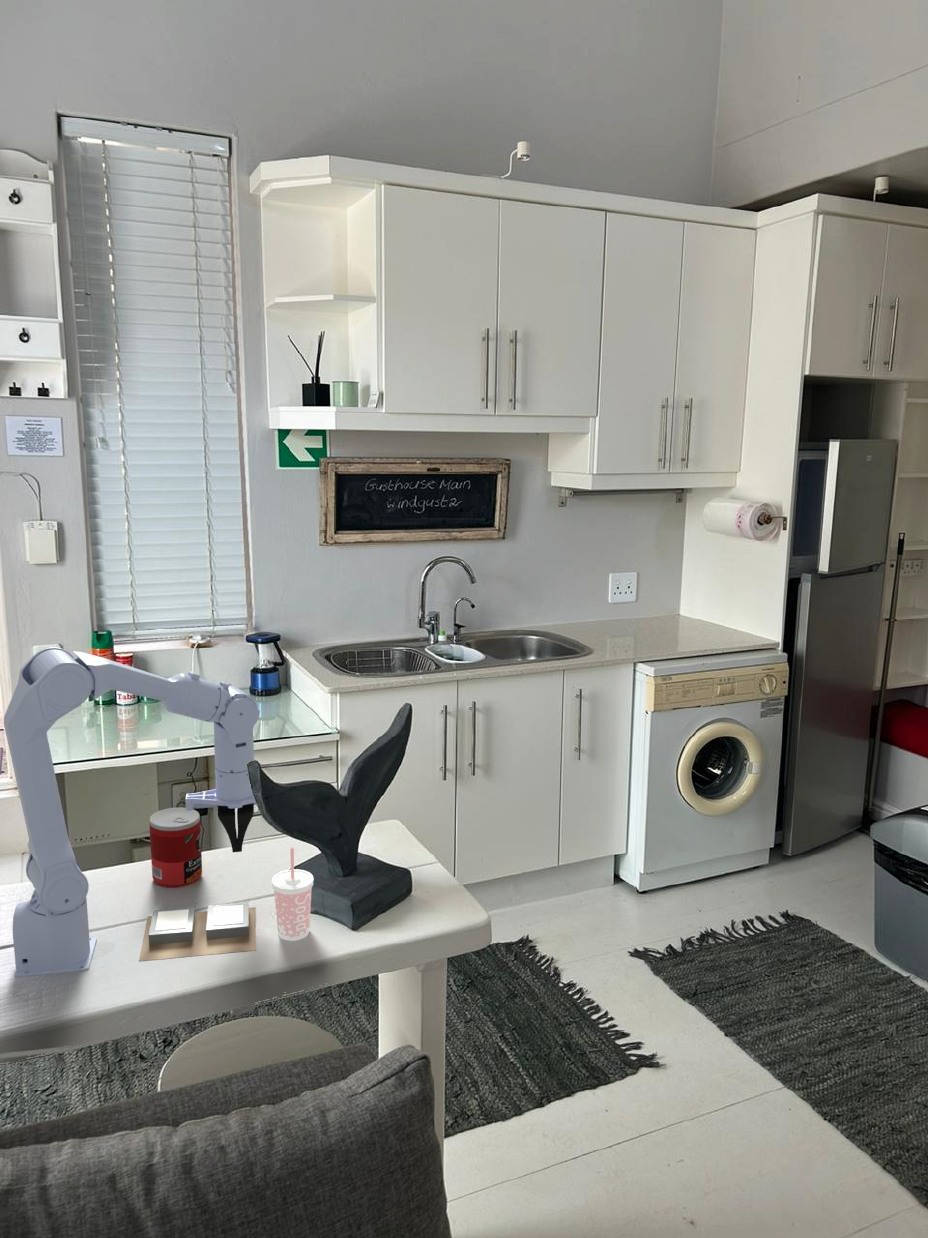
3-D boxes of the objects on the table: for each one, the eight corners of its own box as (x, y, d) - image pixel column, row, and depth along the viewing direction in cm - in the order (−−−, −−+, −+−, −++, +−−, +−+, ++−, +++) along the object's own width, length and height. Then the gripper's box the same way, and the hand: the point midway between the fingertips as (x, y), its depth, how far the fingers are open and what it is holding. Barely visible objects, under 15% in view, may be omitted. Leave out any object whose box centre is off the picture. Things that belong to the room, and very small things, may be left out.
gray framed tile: (206, 929, 140) (208, 905, 147) (206, 940, 141) (208, 915, 147) (248, 926, 142) (248, 901, 148) (248, 936, 142) (248, 911, 149)
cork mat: (138, 963, 135) (138, 961, 135) (147, 918, 147) (147, 916, 147) (255, 952, 139) (255, 950, 138) (255, 909, 150) (255, 907, 150)
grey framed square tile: (148, 934, 139) (153, 909, 145) (149, 945, 139) (153, 919, 146) (191, 931, 140) (194, 906, 147) (192, 941, 140) (195, 916, 147)
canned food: (195, 891, 155) (192, 828, 152) (145, 889, 155) (141, 826, 153) (208, 868, 162) (205, 807, 160) (161, 866, 163) (157, 806, 160)
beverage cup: (278, 949, 140) (276, 860, 136) (268, 928, 145) (266, 842, 142) (319, 940, 142) (318, 853, 139) (308, 920, 147) (307, 835, 144)
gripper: (182, 779, 140) (186, 865, 143) (284, 773, 143) (286, 857, 146) (185, 761, 146) (189, 843, 149) (283, 756, 149) (284, 837, 153)
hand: (237, 849), depth 148 cm, fingers closed
